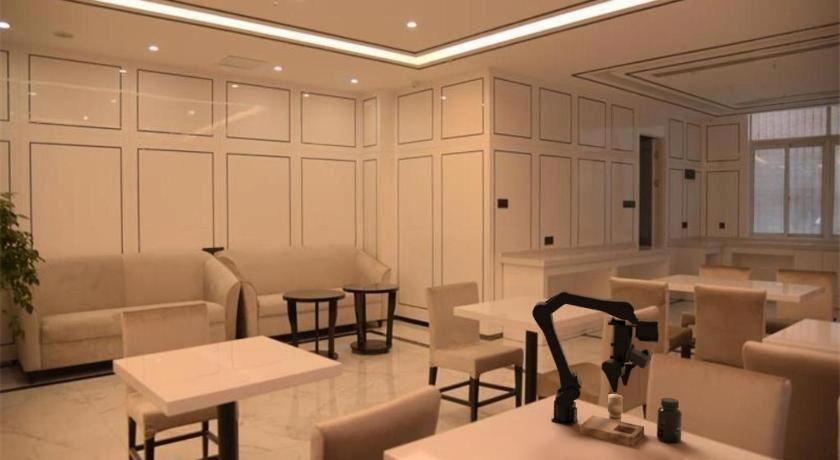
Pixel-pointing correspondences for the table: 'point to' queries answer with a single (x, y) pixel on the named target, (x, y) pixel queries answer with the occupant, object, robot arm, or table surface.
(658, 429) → the supplement bottle
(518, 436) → the table surface
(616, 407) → the peg
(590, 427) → the board
